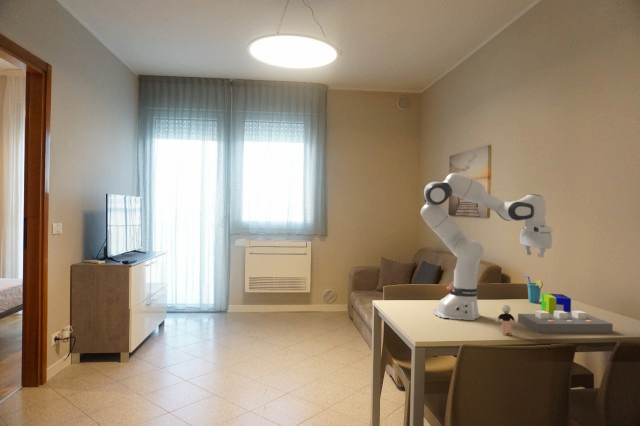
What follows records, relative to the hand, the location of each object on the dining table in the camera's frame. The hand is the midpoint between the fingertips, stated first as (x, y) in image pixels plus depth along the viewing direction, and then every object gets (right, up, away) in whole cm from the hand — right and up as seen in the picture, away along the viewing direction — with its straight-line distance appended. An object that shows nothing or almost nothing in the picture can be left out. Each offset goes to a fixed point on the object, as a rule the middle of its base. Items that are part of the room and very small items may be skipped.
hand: (534, 256), depth 190 cm
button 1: (-1, -28, -8) cm, 29 cm away
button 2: (+17, -28, -7) cm, 34 cm away
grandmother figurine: (-24, -32, -21) cm, 45 cm away
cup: (+20, -31, +39) cm, 54 cm away
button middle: (+8, -28, -7) cm, 30 cm away
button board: (+8, -32, -9) cm, 34 cm away
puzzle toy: (+17, -32, +11) cm, 38 cm away
